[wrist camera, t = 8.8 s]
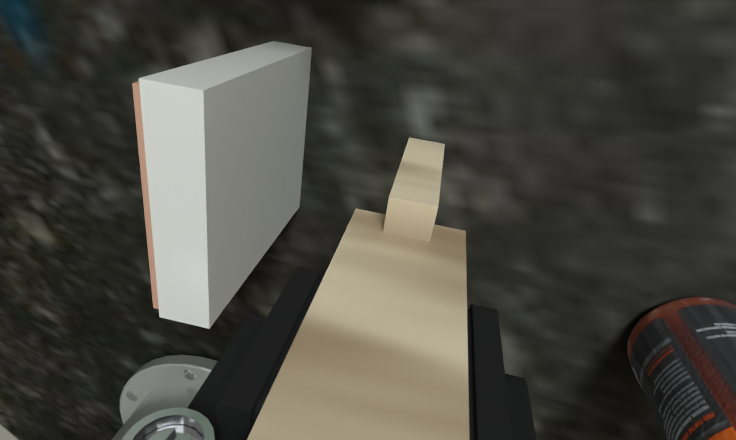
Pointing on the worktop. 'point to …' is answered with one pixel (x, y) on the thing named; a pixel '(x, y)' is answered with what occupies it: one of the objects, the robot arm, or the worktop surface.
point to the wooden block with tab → (383, 327)
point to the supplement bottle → (688, 367)
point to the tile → (219, 171)
